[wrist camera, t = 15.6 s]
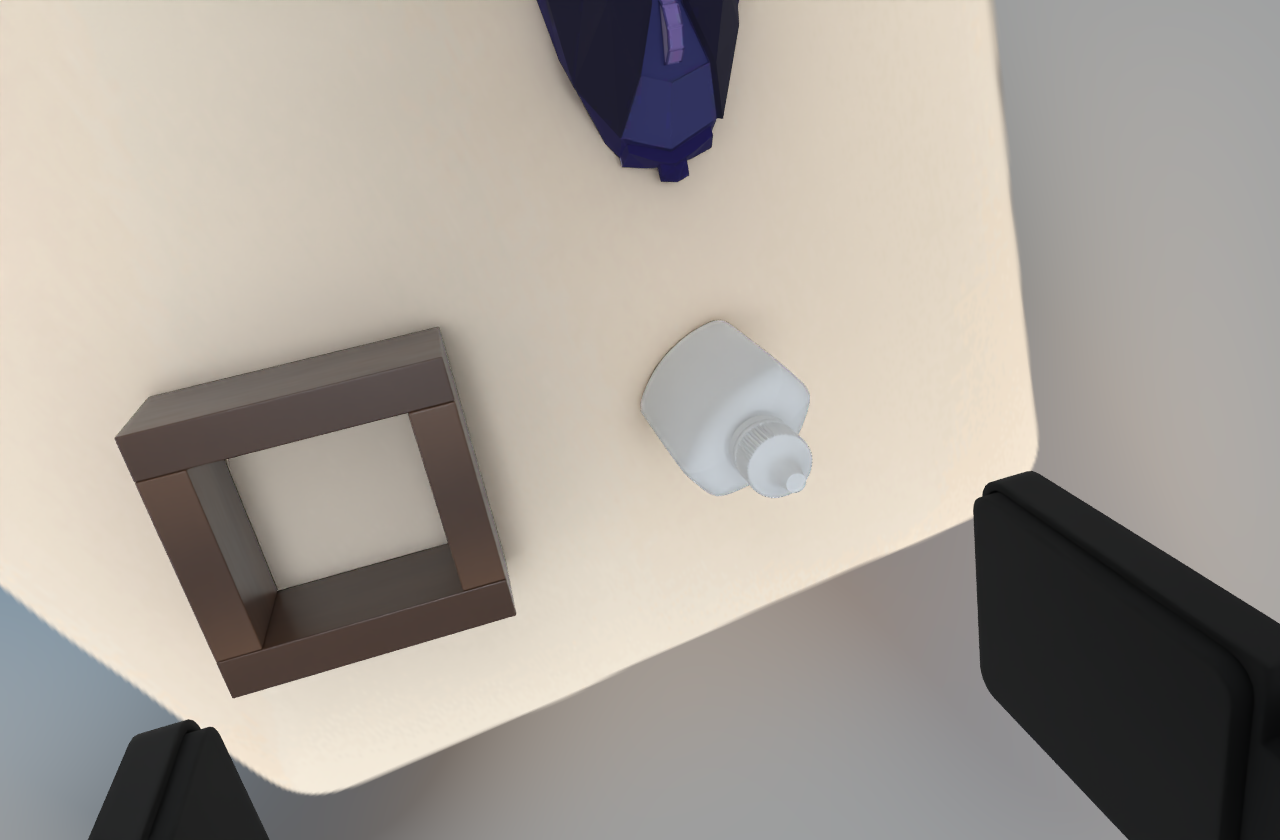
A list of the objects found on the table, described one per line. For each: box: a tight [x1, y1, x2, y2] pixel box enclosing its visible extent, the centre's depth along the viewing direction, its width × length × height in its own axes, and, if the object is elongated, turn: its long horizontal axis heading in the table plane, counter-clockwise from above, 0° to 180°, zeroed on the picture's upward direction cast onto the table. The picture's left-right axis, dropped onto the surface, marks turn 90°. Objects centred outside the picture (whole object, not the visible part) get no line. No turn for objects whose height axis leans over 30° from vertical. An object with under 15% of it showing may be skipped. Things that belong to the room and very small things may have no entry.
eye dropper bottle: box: [641, 320, 812, 498], centre depth 35 cm, size 4×6×12 cm
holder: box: [115, 327, 516, 698], centre depth 36 cm, size 12×12×4 cm
